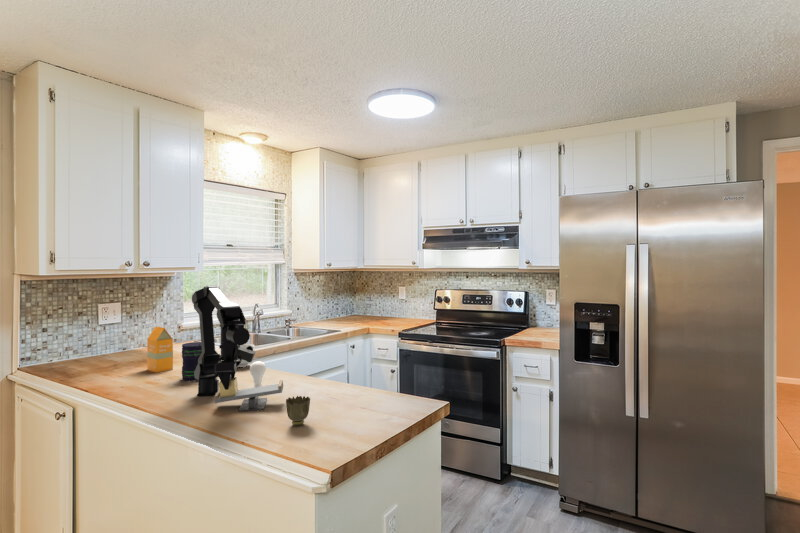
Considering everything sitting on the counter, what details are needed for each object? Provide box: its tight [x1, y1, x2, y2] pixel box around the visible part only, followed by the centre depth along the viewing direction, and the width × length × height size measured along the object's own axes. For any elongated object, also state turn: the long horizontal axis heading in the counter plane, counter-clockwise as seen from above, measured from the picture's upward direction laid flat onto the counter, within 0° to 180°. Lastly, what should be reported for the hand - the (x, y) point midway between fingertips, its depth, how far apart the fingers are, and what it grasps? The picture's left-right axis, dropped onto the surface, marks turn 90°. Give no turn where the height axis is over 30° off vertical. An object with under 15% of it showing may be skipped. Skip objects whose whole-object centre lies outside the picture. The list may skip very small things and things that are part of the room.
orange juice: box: [146, 326, 174, 373], centre depth 207 cm, size 8×9×20 cm
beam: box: [213, 379, 284, 404], centre depth 155 cm, size 22×8×2 cm, turn 101°
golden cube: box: [219, 377, 239, 398], centre depth 154 cm, size 5×5×5 cm
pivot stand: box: [238, 396, 268, 413], centre depth 155 cm, size 8×12×4 cm, turn 11°
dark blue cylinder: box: [181, 341, 202, 382], centre depth 192 cm, size 10×10×15 cm
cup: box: [285, 395, 311, 427], centre depth 137 cm, size 8×7×8 cm
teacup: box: [237, 343, 255, 368], centre depth 214 cm, size 12×15×10 cm
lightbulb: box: [249, 360, 267, 388], centre depth 176 cm, size 6×6×11 cm
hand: (229, 385), depth 154 cm, fingers open, 9 cm apart
